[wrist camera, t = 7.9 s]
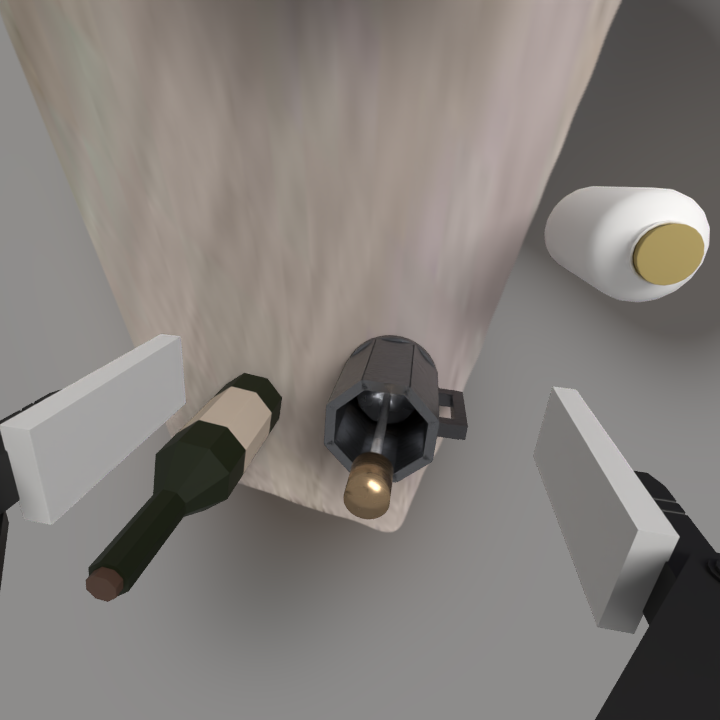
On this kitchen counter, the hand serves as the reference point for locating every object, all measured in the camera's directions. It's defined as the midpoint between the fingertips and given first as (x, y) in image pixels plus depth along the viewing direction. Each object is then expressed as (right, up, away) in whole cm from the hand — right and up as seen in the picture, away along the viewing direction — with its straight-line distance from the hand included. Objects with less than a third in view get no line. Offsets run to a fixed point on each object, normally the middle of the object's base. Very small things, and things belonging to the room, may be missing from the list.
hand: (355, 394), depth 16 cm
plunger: (+3, -3, +36) cm, 36 cm away
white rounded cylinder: (+23, +15, +30) cm, 41 cm away
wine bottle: (-14, -4, +44) cm, 47 cm away
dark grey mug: (+5, -1, +40) cm, 40 cm away
